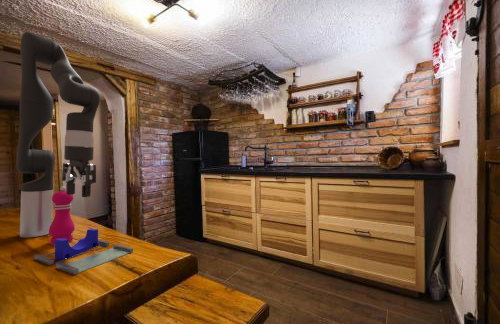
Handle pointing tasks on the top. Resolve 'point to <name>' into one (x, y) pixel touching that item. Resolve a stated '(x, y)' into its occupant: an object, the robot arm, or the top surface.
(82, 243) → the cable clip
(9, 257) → the top surface
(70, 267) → the panel
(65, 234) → the pepper mill
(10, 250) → the top surface
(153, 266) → the top surface
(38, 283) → the top surface
